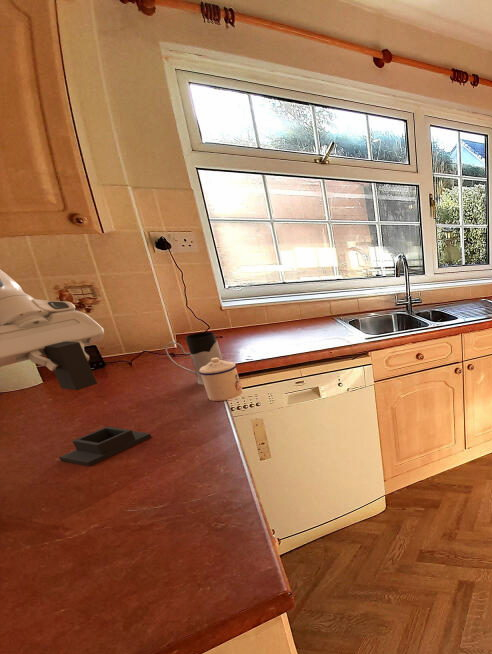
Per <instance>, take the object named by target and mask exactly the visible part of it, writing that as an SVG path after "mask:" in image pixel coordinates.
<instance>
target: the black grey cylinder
mask: <svg viewBox="0 0 492 654" xmlns="http://www.w3.org/2000/svg"><path fill="white" fill-rule="evenodd" d="M184 338H185V341H186V344H187V346H188V350H189V352H185V350H184V349H185V348H184V347H183V346H182V345H181V344H180V343H178V342H176V341H171V342H168V343H167V344H165V346H164V351H165V353H166V357H168V359H169V361H171V362H172V364H174V365H175V366H177V367H179V368H181V369H182V370H185V371H187V372H190V373H192V374H194V375H195V377H197V384H198V385H203V386H204V383H203V380H202V376H201V374H200V373H199V370H200V368H202V367H203V366H205V365H207V364H208V363H210V362H211V359H212V358H219V359H220V360H223V356H222V352H221V349H220V345H219V341H218V340H217V338H216V335H215V332H213V331H203V332H202V331H201V332H195V333H191V334H189V335H186V336H185V337H184ZM171 344H175V345H177V346H179V347H180V350H181V352H182V353H183V354H184V355H190V358H191V361H192V364H193V367H194V370H192V369H189V368H186V367H184V366H183V365H180V364H179V363H177V362H176V361H175V360H174V359H173V358H172V357H171V356H170V354H169V351H168V346H170V345H171ZM223 361H224V360H223Z"/></svg>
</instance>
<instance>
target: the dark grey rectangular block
mask: <svg viewBox="0 0 492 654" xmlns="http://www.w3.org/2000/svg"><path fill="white" fill-rule="evenodd" d="M43 350H44V352H45V354H46V355H45V356H46V358H47V359H50V360H52V359H56V360H57V361H58V362H59V363H60V364H61V368H60V369H57V370H54V371H53V373H54V375H55V377H56V380H57V381H58V384H59V386H60V388H61V389H62V390H63V389H64V390H73V391H79V390H83V389H86V388H88V387H92V386H95V385H98V382H97V380H96V377H95V375H94V372H93V370H92V369H91V365H90V363H89V361H87V359H86V356H85V354H84V352H85V351H84V352H83V350H82V347H81V345H80V343H79V342H69V341H65V342H61V343H57V344H52V345H48V346H45V349H43Z"/></svg>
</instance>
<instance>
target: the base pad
mask: <svg viewBox="0 0 492 654" xmlns="http://www.w3.org/2000/svg"><path fill="white" fill-rule="evenodd" d="M151 438H152V435H151V433H148V432H142V431H136V430H132V429H128V428H119V427H114V426H105V427H102V428H100V429H98V430H94V431H91V432H90V433H87V434H85V435H83V436H80V437H78V438H75V439H73V440H72V444H73V445H74V447H75V449H74V450H72V451H70V452H68V453H65V454H63V455H61V456H59V460H60V461H61V462H64V463H70V464H75V465H80V466H85V467H86V466H87V467H92V466H94V465H96V464H97V463H100V462H102V461H105V460H106V459H108V458H110V457H113V456H115V455H117V454H119V453H121V452H124V451H125V450H127V449H130V448H131V447H132V448H133V447H134V446H136V445H138V444H140V443H142V442H145V441H146V440H149V439H151Z"/></svg>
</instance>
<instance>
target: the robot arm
mask: <svg viewBox="0 0 492 654" xmlns="http://www.w3.org/2000/svg"><path fill="white" fill-rule="evenodd" d="M104 335H105V329H104V327H102V326H101V325H100V324H99V323H98V322H97V321H96V320H94V318H92V317H91V316H89V315H88V314H86V313H84V312H83V311H80V310H76V306H75V304H73V302H70V301H66V300H65V301H64V300H45V299H39V298H38V299H36V298H34V297H33V296H32V295H29V294H27V293H26V292H24V290H23V288H22V286H21V285H20V284H18V282H16V281H15V280H14V278H12V277H11V276H9V274H7V273H6V272H5V271H3V270H2V269H0V368H1V367H5V366H9V365H13V364H17V363H22V362H24V361H30V362H32V363H33V364H37V365H39V366H43V367H46V368H47V369H48V370H49V371H51V372H54V370H57V369H60V368H61V364H60V363H59V362H58V361H57V360H56V359H52V360H50V359H48V358H47V357H45V356H46V354H45V352H44V350H43V349H45V346H48V345H52V344H57V343H61V342H65V341H69V342H79V343H80V345H81V347H82V350H83V352H84V354H85V356H86V359H87V361H88V362H89V361H90V355H89V354H88V353H87V352H86V351H85V346H89V345H92V344H96V343H100V342H102V340H103V338H104Z"/></svg>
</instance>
